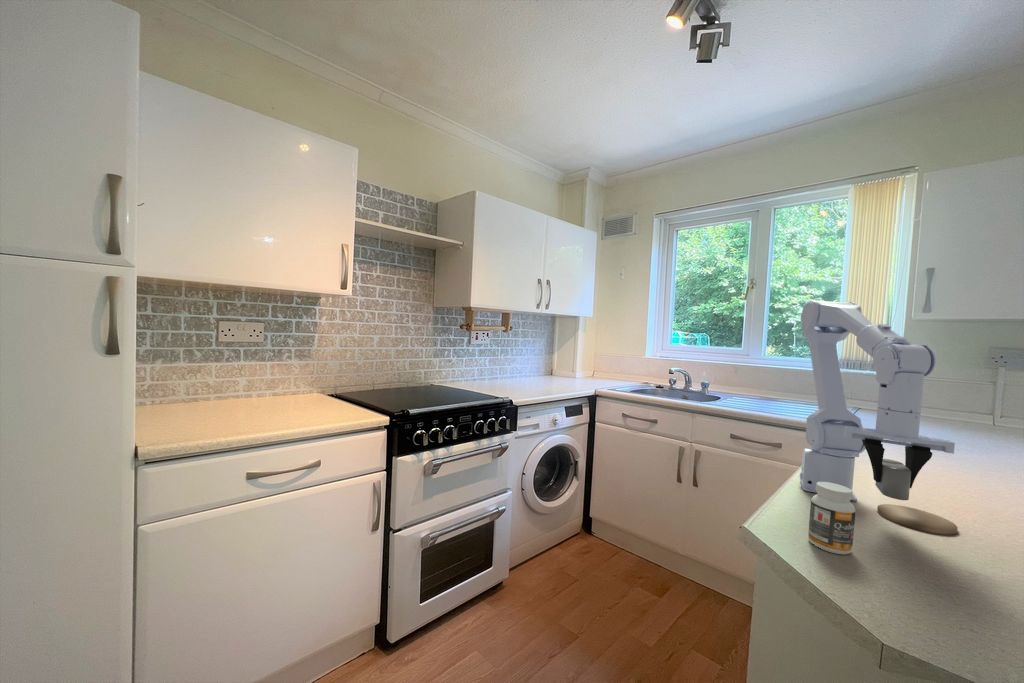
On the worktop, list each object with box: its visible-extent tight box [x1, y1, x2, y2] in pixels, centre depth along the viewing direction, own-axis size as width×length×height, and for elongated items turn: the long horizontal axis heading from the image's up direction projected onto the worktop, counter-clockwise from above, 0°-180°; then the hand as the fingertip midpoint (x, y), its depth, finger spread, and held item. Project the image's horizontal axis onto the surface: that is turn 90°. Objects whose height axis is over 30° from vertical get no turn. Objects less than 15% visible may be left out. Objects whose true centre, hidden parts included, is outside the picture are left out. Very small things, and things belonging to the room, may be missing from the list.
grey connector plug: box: [875, 458, 911, 501], centre depth 75 cm, size 11×4×5 cm, turn 148°
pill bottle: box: [807, 482, 856, 555], centre depth 66 cm, size 6×6×10 cm
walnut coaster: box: [876, 503, 958, 536], centre depth 79 cm, size 11×11×1 cm
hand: (891, 483), depth 74 cm, fingers closed on grey connector plug, 3 cm apart
